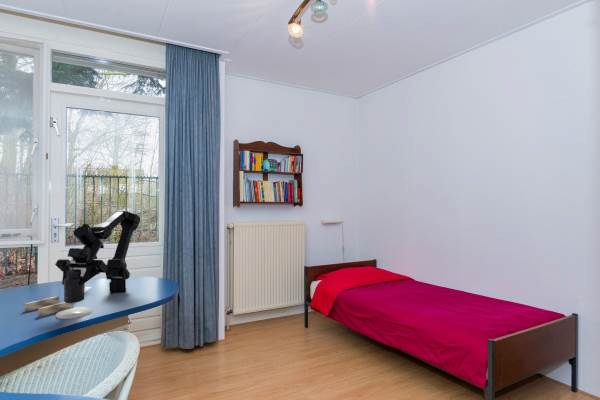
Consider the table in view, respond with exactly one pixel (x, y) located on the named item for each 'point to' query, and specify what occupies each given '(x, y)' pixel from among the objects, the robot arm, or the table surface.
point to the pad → (74, 312)
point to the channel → (48, 306)
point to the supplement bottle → (73, 287)
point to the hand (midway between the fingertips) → (71, 284)
